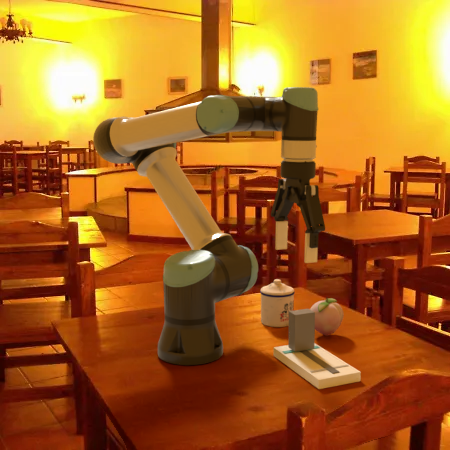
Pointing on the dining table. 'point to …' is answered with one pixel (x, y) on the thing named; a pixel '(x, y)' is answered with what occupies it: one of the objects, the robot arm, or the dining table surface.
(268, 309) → the teacup with lid
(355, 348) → the dining table surface
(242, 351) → the dining table surface
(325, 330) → the decorative fruit
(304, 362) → the slider console
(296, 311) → the fader tab
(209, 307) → the robot arm
